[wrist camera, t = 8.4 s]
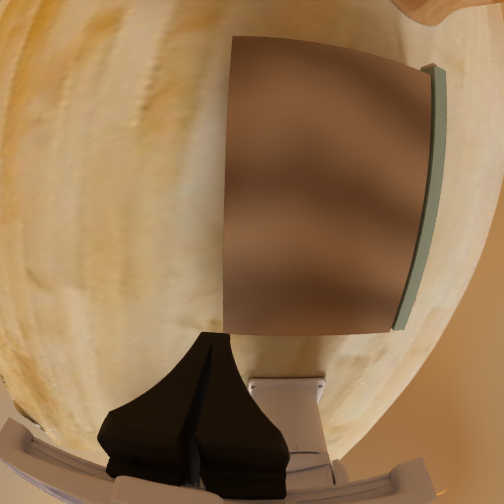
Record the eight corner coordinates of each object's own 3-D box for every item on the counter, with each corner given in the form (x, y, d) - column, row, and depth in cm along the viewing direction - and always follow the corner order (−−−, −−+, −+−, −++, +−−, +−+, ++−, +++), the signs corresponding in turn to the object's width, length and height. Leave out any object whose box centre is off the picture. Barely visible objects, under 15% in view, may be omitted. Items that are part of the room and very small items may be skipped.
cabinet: (367, 298, 23) (389, 332, 18) (228, 295, 22) (223, 333, 18) (395, 86, 16) (430, 74, 11) (237, 62, 16) (232, 36, 11)
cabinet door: (393, 299, 22) (416, 328, 18) (372, 299, 22) (393, 330, 18) (423, 80, 15) (457, 71, 11) (401, 72, 15) (433, 60, 11)
